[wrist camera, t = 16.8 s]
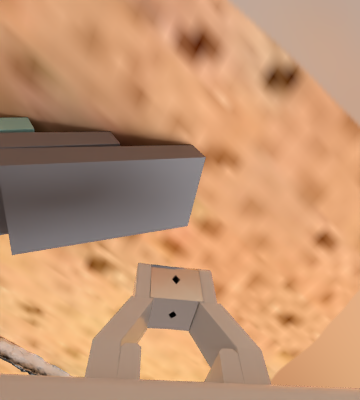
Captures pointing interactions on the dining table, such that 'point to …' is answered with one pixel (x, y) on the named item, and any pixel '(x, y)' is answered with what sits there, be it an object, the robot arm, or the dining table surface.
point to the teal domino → (15, 125)
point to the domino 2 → (95, 192)
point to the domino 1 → (51, 141)
